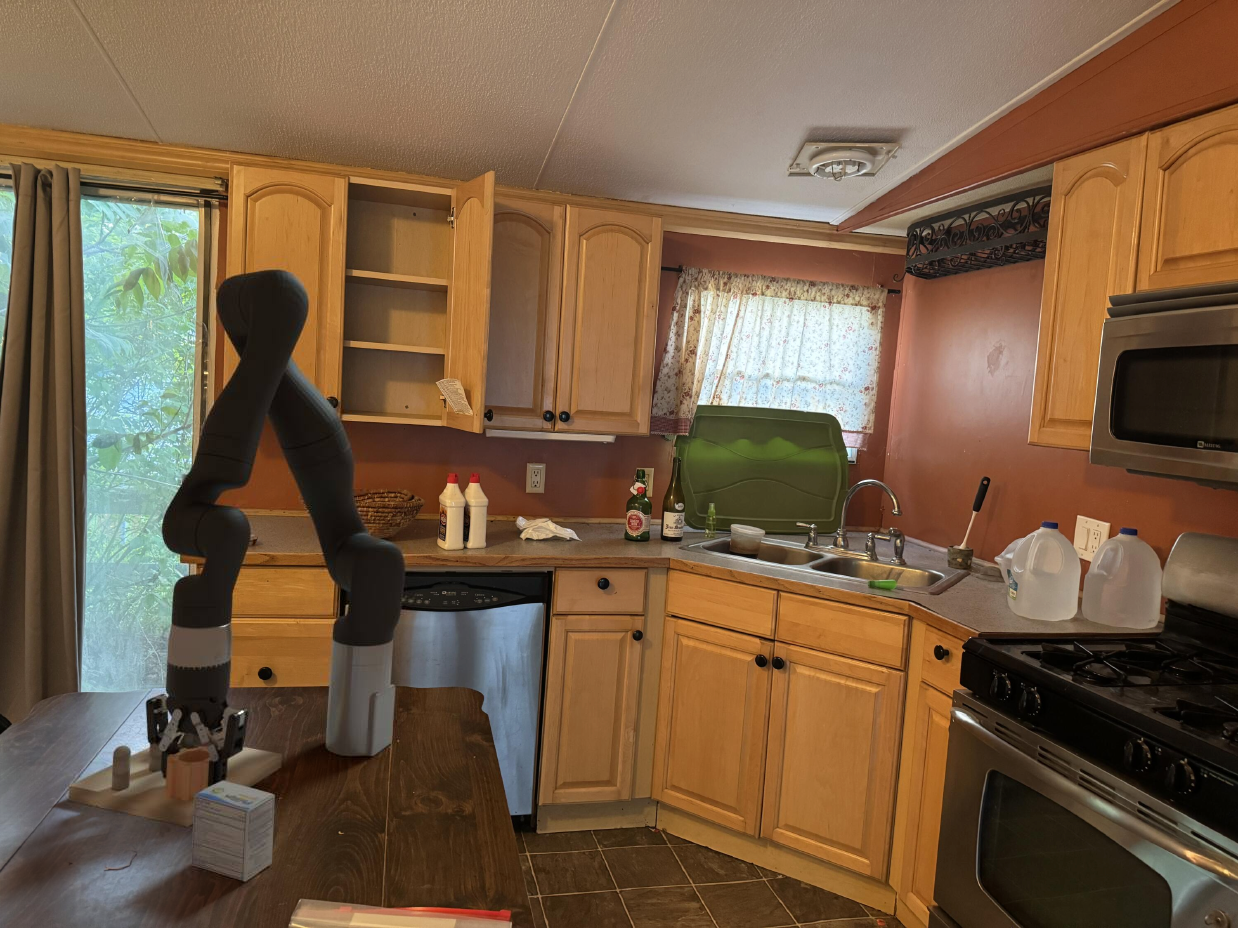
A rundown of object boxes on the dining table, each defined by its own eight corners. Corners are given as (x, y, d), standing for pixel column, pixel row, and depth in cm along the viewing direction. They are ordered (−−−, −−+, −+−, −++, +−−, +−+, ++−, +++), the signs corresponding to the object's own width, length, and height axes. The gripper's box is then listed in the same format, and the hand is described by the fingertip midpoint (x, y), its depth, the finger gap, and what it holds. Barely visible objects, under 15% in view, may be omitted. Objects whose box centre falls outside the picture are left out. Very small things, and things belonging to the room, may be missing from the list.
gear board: (281, 767, 125) (284, 707, 124) (187, 826, 106) (191, 756, 106) (175, 746, 129) (178, 688, 128) (68, 800, 110) (71, 732, 110)
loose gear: (229, 783, 114) (231, 751, 114) (196, 803, 108) (198, 769, 108) (189, 775, 116) (191, 743, 115) (154, 794, 110) (156, 760, 109)
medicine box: (272, 865, 100) (277, 793, 99) (244, 884, 95) (248, 808, 95) (219, 848, 102) (223, 778, 101) (189, 866, 98) (193, 793, 97)
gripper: (266, 656, 113) (259, 779, 114) (173, 641, 116) (167, 760, 117) (228, 672, 105) (221, 803, 107) (130, 655, 109) (124, 782, 110)
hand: (193, 780), depth 112 cm, fingers closed on loose gear, 6 cm apart
